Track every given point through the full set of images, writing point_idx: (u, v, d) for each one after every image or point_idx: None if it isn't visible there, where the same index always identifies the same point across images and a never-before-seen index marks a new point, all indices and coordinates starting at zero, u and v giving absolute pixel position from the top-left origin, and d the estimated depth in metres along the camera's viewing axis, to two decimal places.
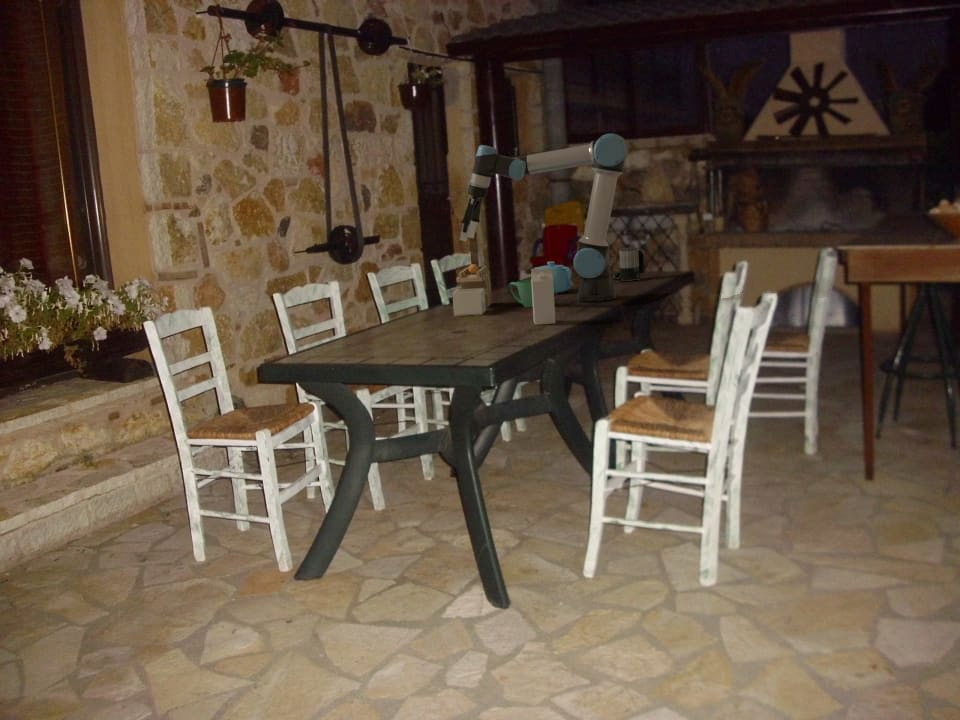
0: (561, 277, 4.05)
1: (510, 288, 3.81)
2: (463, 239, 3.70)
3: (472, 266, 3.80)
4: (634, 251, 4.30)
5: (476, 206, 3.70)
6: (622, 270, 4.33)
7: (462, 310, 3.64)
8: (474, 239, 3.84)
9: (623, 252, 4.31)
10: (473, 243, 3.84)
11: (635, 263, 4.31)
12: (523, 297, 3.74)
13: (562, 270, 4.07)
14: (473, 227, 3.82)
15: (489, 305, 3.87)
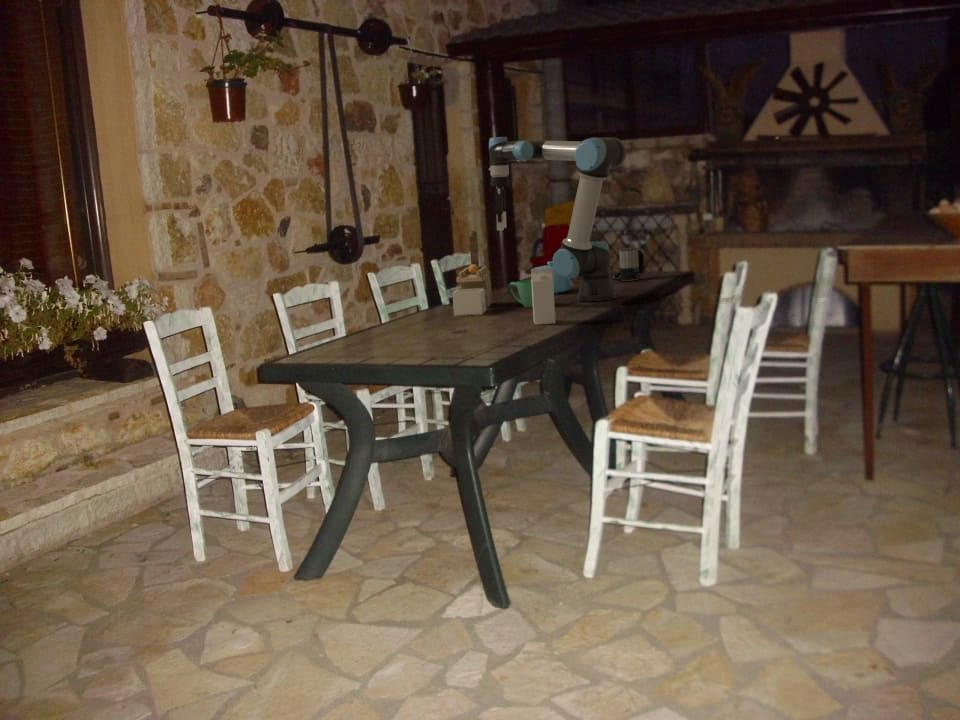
0: (561, 277, 4.05)
1: (510, 288, 3.81)
2: (500, 229, 3.86)
3: (472, 266, 3.80)
4: (634, 251, 4.30)
5: (503, 195, 3.87)
6: (622, 270, 4.33)
7: (462, 310, 3.64)
8: (474, 239, 3.84)
9: (623, 252, 4.31)
10: (473, 243, 3.84)
11: (635, 263, 4.31)
12: (523, 297, 3.74)
13: None
14: (503, 217, 3.98)
15: (489, 305, 3.87)
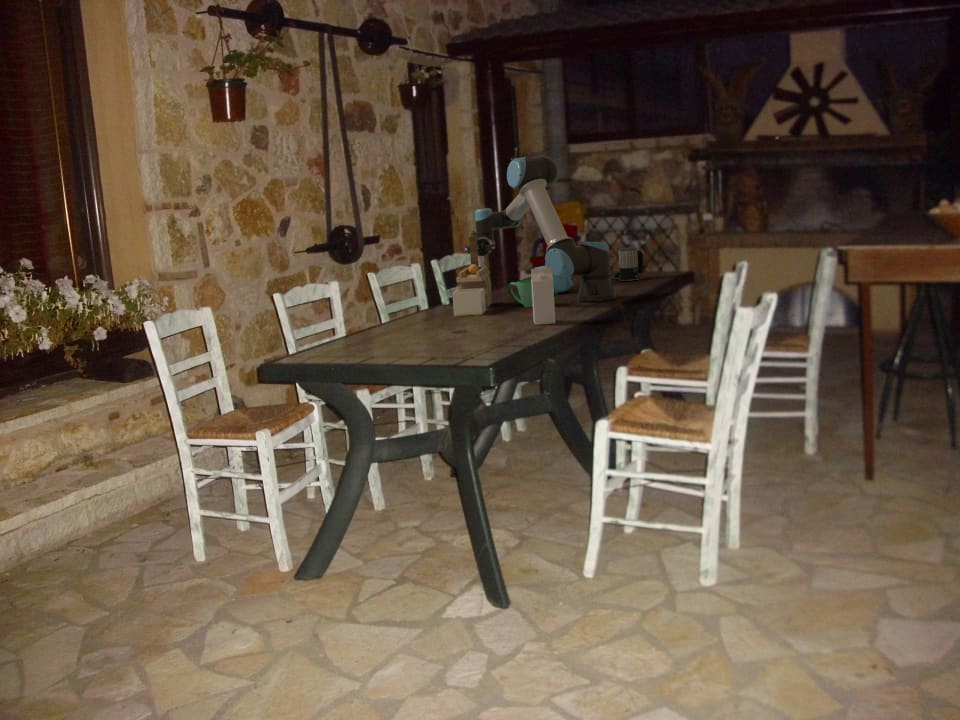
0: None
1: (510, 288, 3.81)
2: None
3: (472, 266, 3.80)
4: (633, 251, 4.30)
5: None
6: (621, 270, 4.34)
7: (462, 310, 3.64)
8: (474, 239, 3.83)
9: (622, 252, 4.31)
10: (473, 243, 3.83)
11: (634, 263, 4.31)
12: (523, 297, 3.74)
13: None
14: None
15: (489, 305, 3.87)
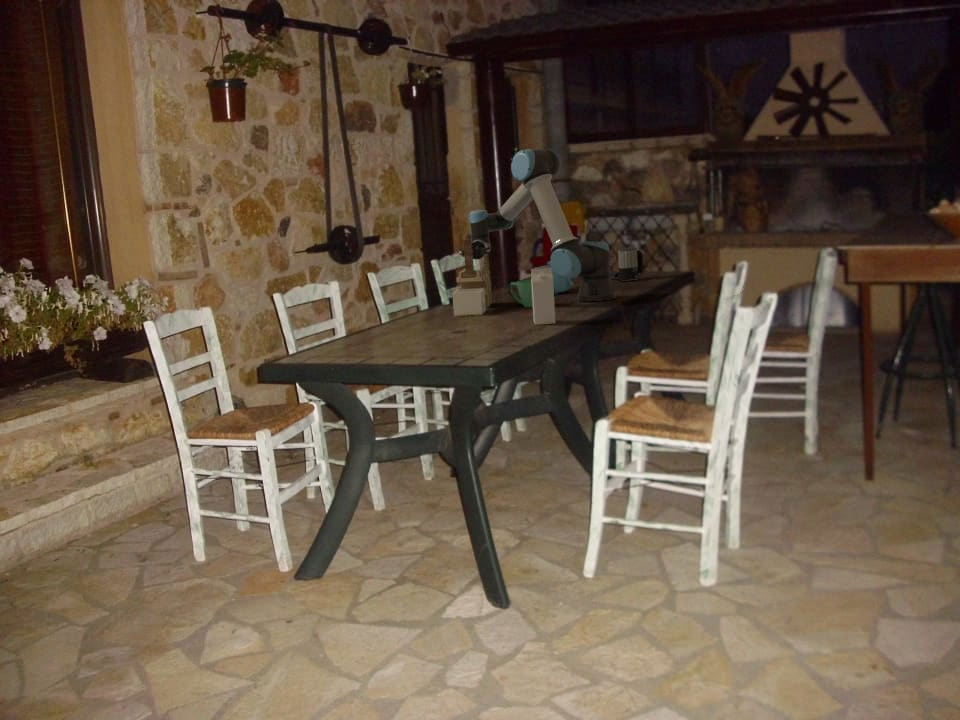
0: None
1: (510, 288, 3.81)
2: None
3: None
4: (633, 251, 4.30)
5: None
6: (621, 270, 4.34)
7: (462, 310, 3.64)
8: (468, 242, 3.69)
9: (622, 252, 4.31)
10: (467, 246, 3.70)
11: (634, 263, 4.32)
12: (523, 297, 3.74)
13: None
14: None
15: (489, 305, 3.87)
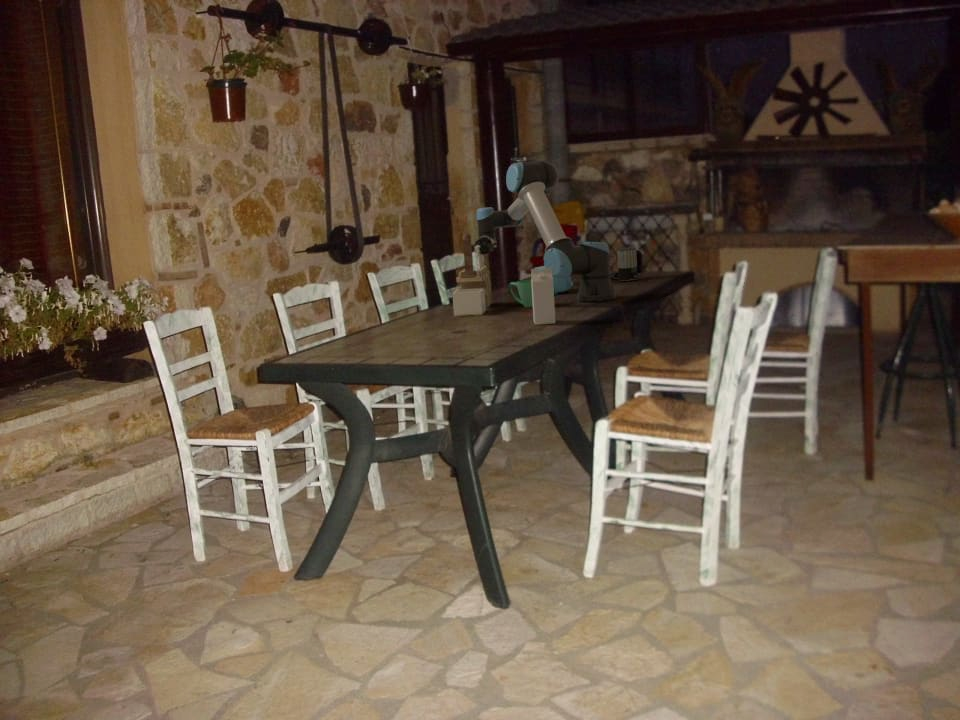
0: None
1: (510, 288, 3.81)
2: None
3: None
4: (632, 251, 4.30)
5: (477, 243, 4.07)
6: (620, 270, 4.34)
7: (462, 310, 3.64)
8: (468, 242, 3.68)
9: (621, 252, 4.31)
10: (467, 246, 3.69)
11: (633, 263, 4.32)
12: (523, 297, 3.74)
13: None
14: None
15: (489, 305, 3.87)
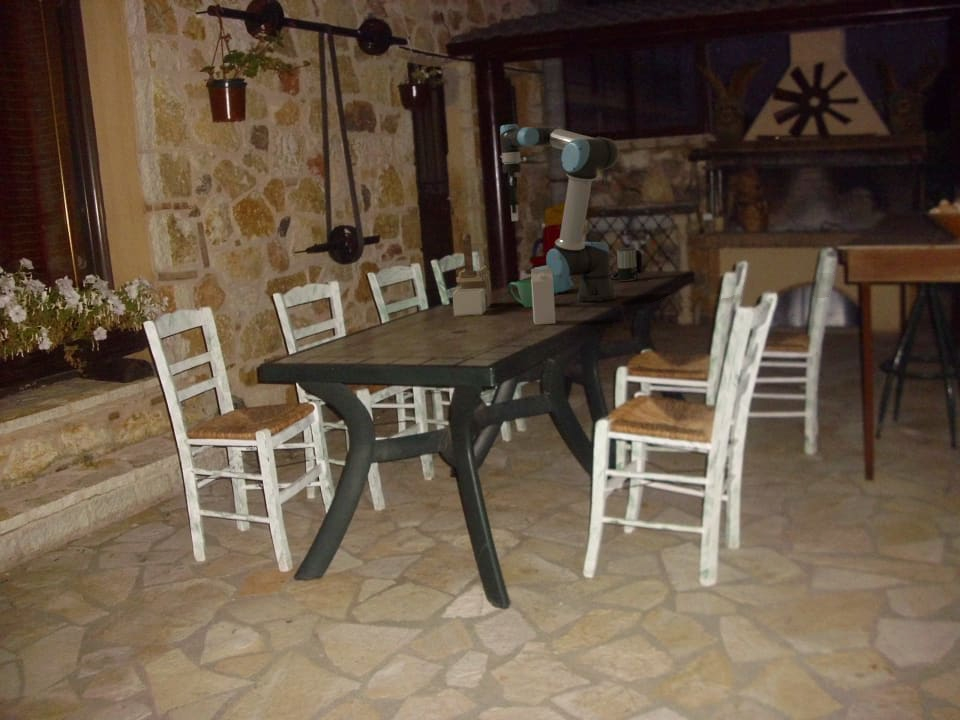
0: None
1: (510, 288, 3.81)
2: (515, 219, 3.98)
3: None
4: (631, 251, 4.31)
5: (515, 183, 3.93)
6: (620, 270, 4.34)
7: (462, 310, 3.64)
8: (468, 242, 3.68)
9: (620, 252, 4.31)
10: (467, 246, 3.69)
11: (632, 263, 4.32)
12: (523, 297, 3.74)
13: None
14: None
15: (489, 305, 3.87)
